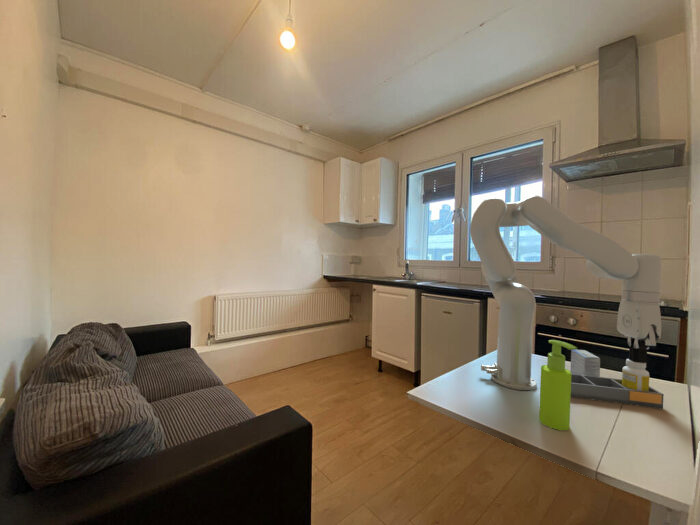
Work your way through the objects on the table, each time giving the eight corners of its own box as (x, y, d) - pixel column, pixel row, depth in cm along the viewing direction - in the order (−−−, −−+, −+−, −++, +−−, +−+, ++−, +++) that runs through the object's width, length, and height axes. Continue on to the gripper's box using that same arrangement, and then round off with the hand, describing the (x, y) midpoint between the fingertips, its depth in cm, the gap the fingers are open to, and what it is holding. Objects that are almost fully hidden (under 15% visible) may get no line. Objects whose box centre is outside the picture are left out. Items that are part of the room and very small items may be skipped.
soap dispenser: (561, 435, 62) (564, 347, 62) (533, 418, 69) (536, 338, 69) (580, 431, 64) (583, 345, 64) (551, 414, 71) (554, 336, 70)
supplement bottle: (644, 393, 81) (645, 360, 80) (652, 401, 76) (653, 366, 76) (618, 388, 83) (620, 356, 83) (624, 396, 79) (626, 362, 79)
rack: (564, 396, 80) (564, 382, 80) (551, 384, 88) (552, 371, 88) (663, 409, 74) (664, 394, 74) (640, 394, 82) (641, 381, 82)
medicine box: (600, 385, 89) (601, 358, 88) (584, 383, 89) (585, 356, 89) (584, 374, 96) (585, 350, 96) (569, 373, 97) (570, 348, 97)
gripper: (607, 293, 87) (605, 351, 87) (643, 300, 73) (640, 370, 73) (637, 294, 85) (634, 354, 85) (680, 302, 71) (677, 373, 71)
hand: (637, 361), depth 79 cm, fingers closed
